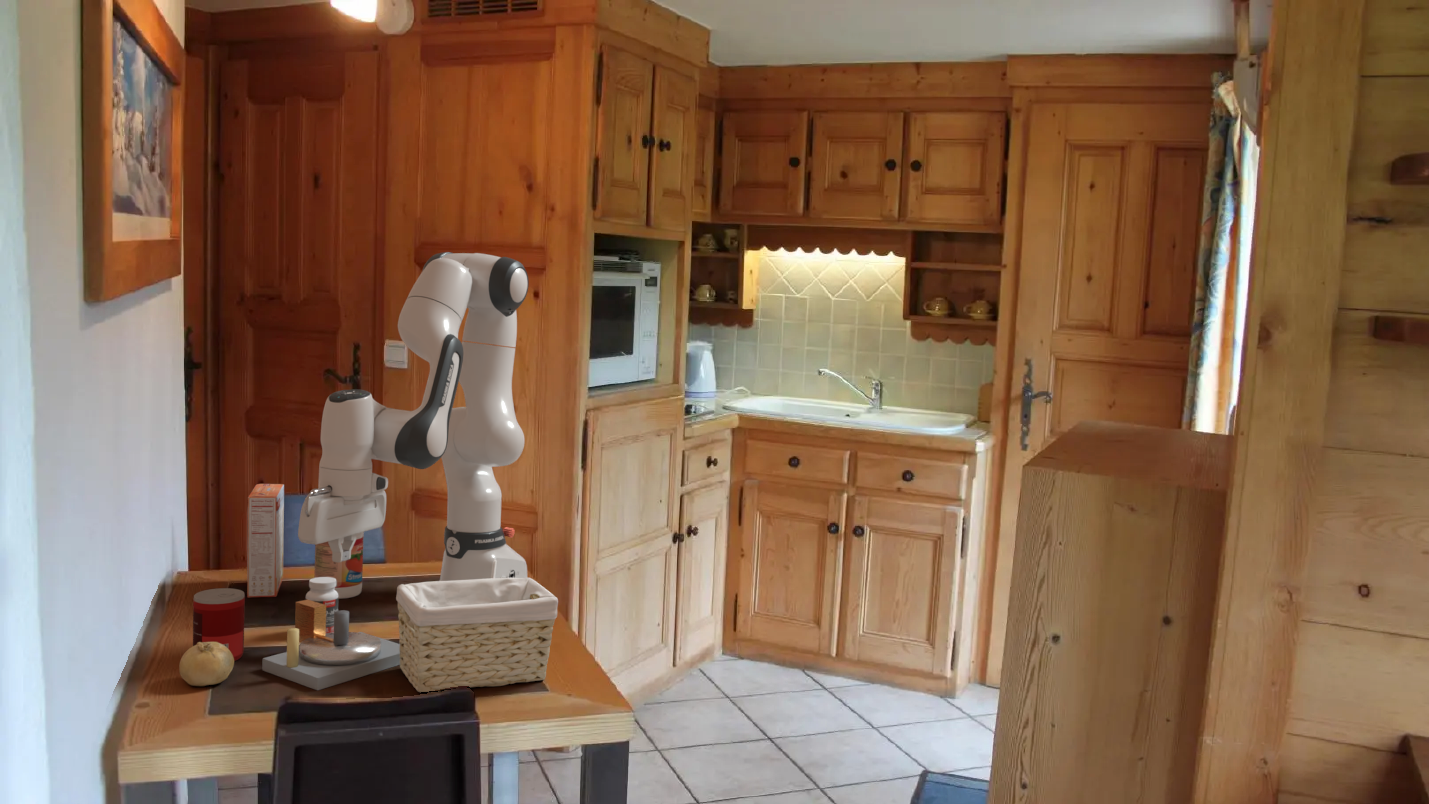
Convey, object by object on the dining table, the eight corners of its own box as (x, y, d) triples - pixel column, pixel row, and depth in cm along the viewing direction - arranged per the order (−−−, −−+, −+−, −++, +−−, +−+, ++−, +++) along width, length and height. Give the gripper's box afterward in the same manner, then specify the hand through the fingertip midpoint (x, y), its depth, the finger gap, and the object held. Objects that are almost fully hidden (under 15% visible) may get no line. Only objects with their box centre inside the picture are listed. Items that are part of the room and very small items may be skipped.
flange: (331, 630, 201) (332, 593, 200) (397, 651, 192) (398, 612, 191) (267, 647, 190) (268, 608, 189) (334, 670, 181) (335, 629, 180)
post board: (360, 642, 202) (361, 593, 201) (414, 660, 194) (416, 608, 194) (262, 670, 185) (263, 616, 184) (317, 690, 178) (319, 634, 177)
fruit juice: (317, 587, 236) (320, 455, 233) (363, 587, 238) (367, 456, 235) (310, 599, 227) (314, 462, 224) (359, 599, 229) (363, 463, 226)
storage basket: (526, 654, 202) (530, 573, 200) (558, 683, 187) (562, 597, 186) (390, 668, 190) (393, 582, 189) (413, 700, 176) (416, 608, 175)
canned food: (253, 655, 192) (255, 592, 191) (217, 668, 185) (218, 603, 184) (219, 647, 195) (220, 585, 194) (182, 660, 188) (182, 595, 187)
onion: (171, 680, 178) (171, 636, 178) (222, 670, 184) (222, 628, 183) (189, 695, 173) (190, 650, 172) (241, 684, 178) (242, 641, 178)
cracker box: (253, 580, 238) (255, 482, 237) (283, 580, 240) (286, 483, 238) (244, 598, 225) (246, 495, 223) (276, 597, 227) (278, 495, 225)
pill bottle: (326, 639, 203) (328, 585, 202) (298, 635, 204) (299, 581, 203) (343, 630, 208) (344, 577, 208) (315, 626, 210) (316, 574, 209)
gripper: (322, 492, 186) (318, 574, 187) (393, 478, 205) (390, 552, 206) (290, 488, 188) (286, 569, 189) (364, 474, 207) (360, 548, 208)
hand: (341, 560), depth 198 cm, fingers closed
